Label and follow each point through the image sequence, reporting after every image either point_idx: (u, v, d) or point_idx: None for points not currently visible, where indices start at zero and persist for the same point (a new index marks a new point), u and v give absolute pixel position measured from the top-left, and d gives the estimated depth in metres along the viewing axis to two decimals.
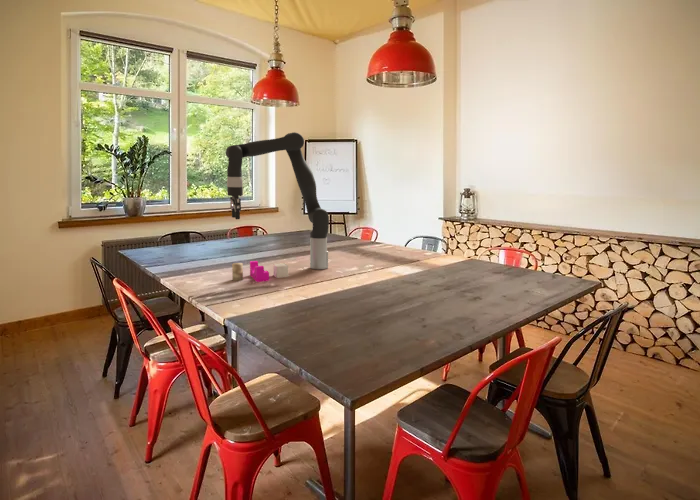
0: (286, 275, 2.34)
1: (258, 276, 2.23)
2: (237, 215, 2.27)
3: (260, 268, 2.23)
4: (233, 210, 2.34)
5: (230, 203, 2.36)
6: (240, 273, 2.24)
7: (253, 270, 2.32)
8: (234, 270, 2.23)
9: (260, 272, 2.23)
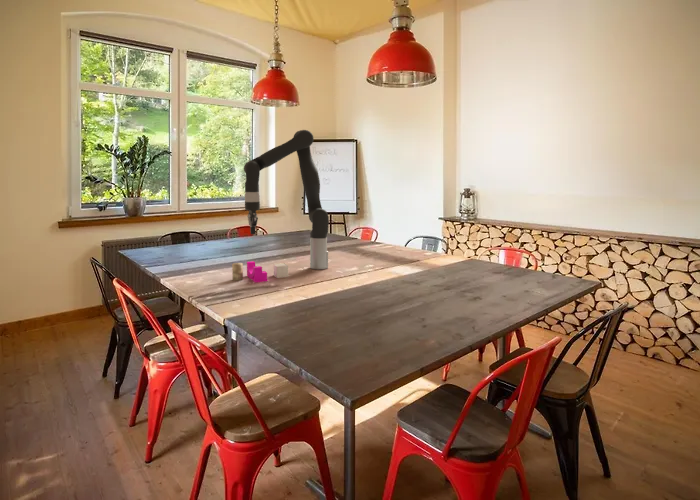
0: (286, 275, 2.34)
1: (256, 276, 2.22)
2: (253, 230, 2.37)
3: (258, 268, 2.22)
4: None
5: None
6: (240, 273, 2.24)
7: (250, 270, 2.31)
8: (234, 270, 2.23)
9: (258, 273, 2.22)
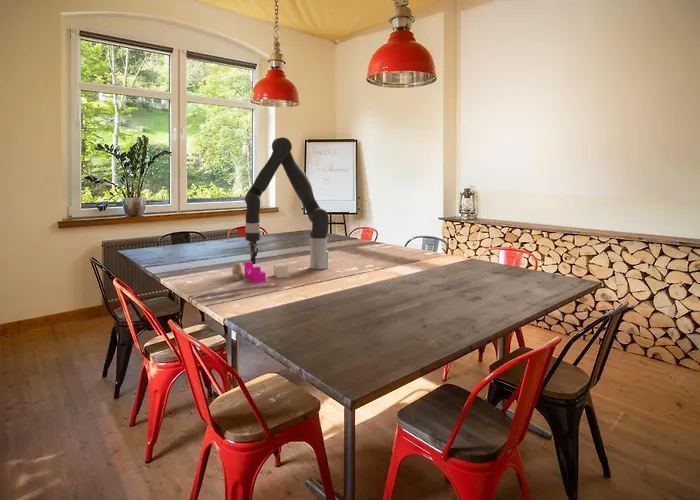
0: (286, 275, 2.34)
1: (255, 277, 2.21)
2: (253, 260, 2.40)
3: (257, 269, 2.21)
4: None
5: None
6: (240, 273, 2.24)
7: (248, 271, 2.30)
8: (234, 270, 2.23)
9: (256, 273, 2.21)
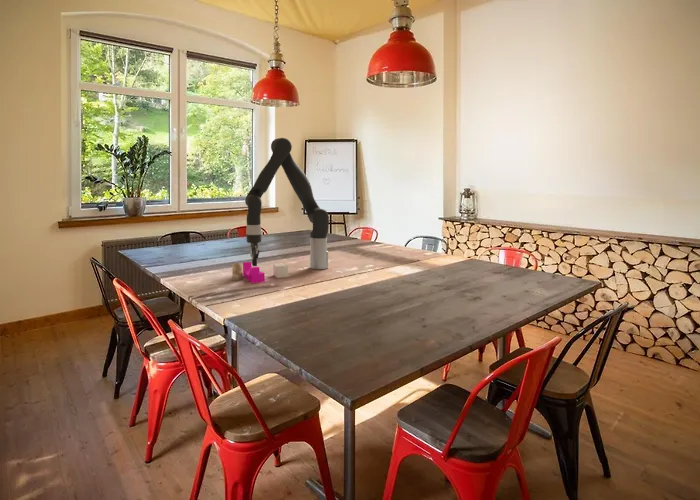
0: (286, 275, 2.34)
1: (254, 277, 2.21)
2: (254, 262, 2.38)
3: (256, 269, 2.20)
4: None
5: None
6: (240, 273, 2.24)
7: (247, 271, 2.29)
8: (234, 270, 2.23)
9: (255, 273, 2.21)
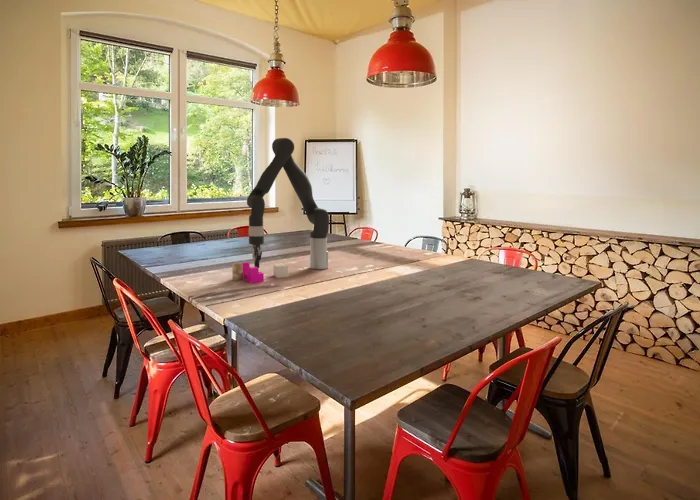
0: (286, 275, 2.34)
1: (253, 277, 2.20)
2: (257, 264, 2.33)
3: (255, 269, 2.20)
4: None
5: (252, 254, 2.37)
6: (240, 273, 2.24)
7: (245, 272, 2.28)
8: (234, 270, 2.23)
9: (254, 274, 2.20)
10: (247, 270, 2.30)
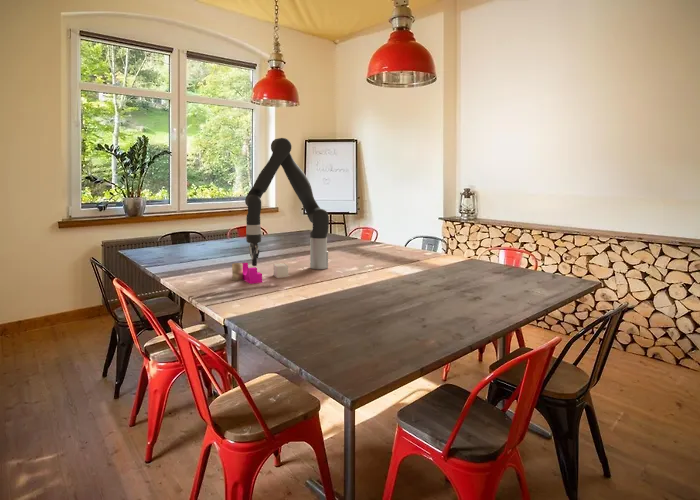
0: (286, 275, 2.34)
1: (251, 278, 2.19)
2: (254, 262, 2.39)
3: (253, 270, 2.19)
4: None
5: None
6: (240, 273, 2.24)
7: (244, 272, 2.28)
8: (234, 270, 2.23)
9: (253, 274, 2.19)
10: (245, 270, 2.29)
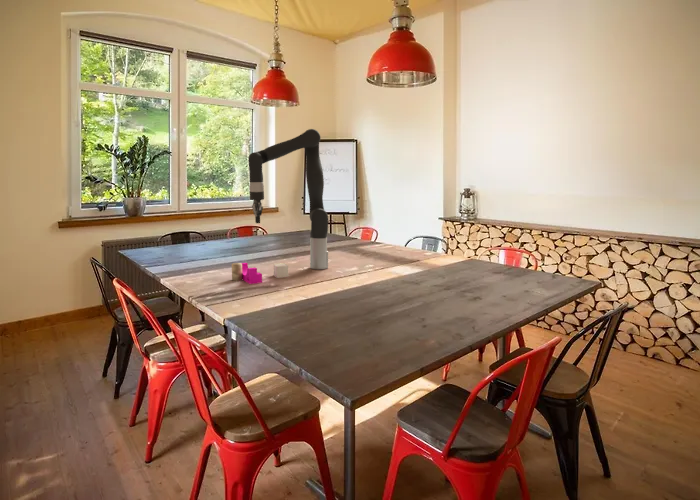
0: (286, 275, 2.34)
1: (251, 278, 2.19)
2: (258, 219, 2.45)
3: (253, 270, 2.19)
4: None
5: (253, 210, 2.48)
6: (239, 273, 2.24)
7: (243, 272, 2.27)
8: (233, 270, 2.23)
9: (253, 274, 2.19)
10: (245, 271, 2.28)
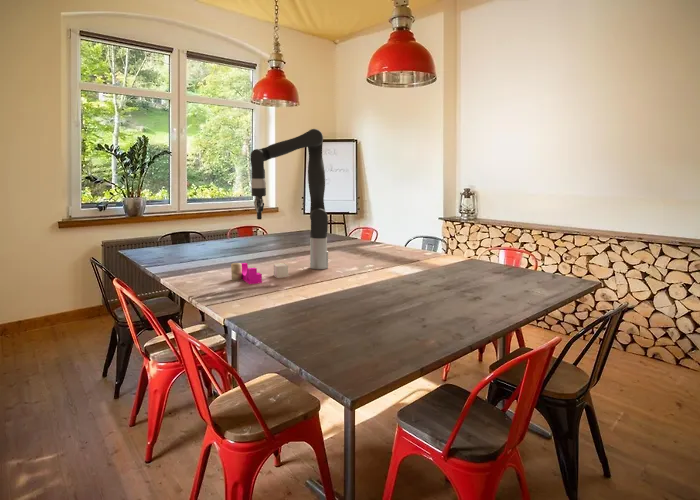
0: (286, 275, 2.34)
1: (251, 278, 2.18)
2: (259, 215, 2.48)
3: (253, 270, 2.18)
4: None
5: (255, 207, 2.51)
6: (239, 273, 2.24)
7: (243, 272, 2.27)
8: (233, 270, 2.23)
9: (253, 274, 2.19)
10: (245, 271, 2.28)
